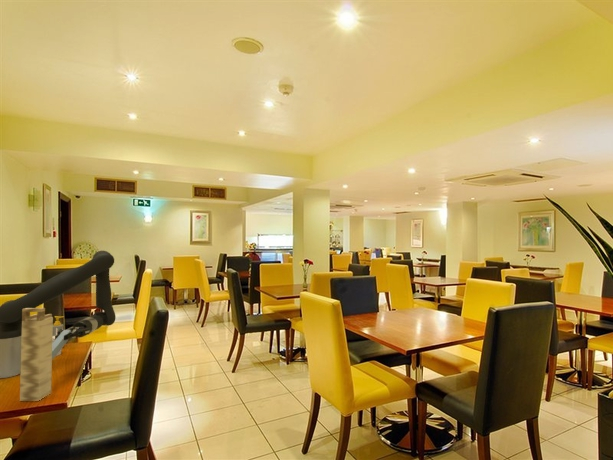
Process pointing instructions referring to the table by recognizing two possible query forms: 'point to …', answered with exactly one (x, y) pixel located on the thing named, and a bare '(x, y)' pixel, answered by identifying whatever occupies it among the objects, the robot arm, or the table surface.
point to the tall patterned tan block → (36, 354)
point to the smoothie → (53, 341)
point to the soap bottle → (57, 325)
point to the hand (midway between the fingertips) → (60, 338)
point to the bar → (59, 343)
